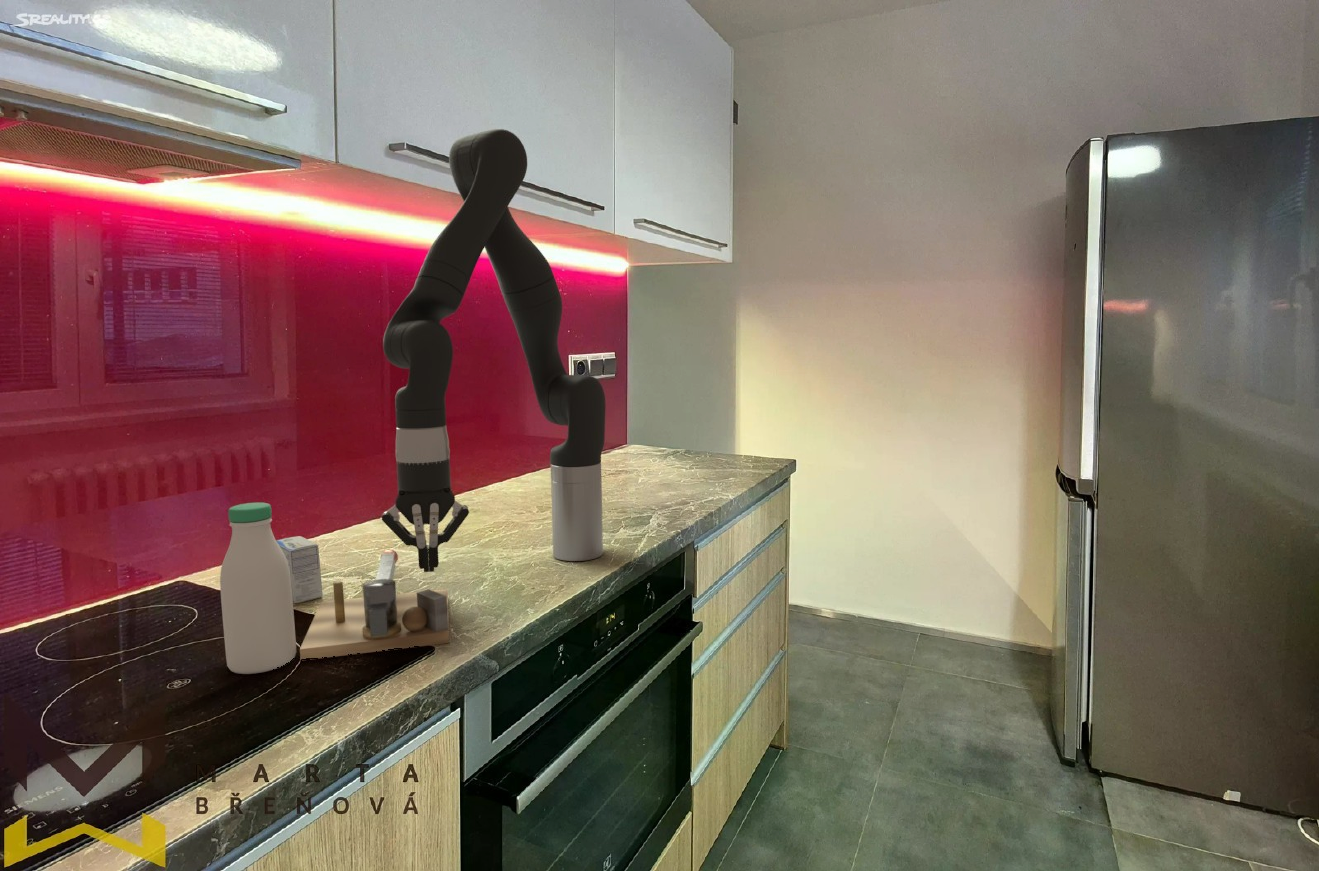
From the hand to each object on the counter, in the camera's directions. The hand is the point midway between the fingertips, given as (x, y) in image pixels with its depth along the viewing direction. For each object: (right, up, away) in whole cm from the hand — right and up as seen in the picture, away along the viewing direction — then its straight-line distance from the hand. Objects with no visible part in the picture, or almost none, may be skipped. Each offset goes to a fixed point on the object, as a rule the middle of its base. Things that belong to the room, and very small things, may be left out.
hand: (428, 570), depth 112 cm
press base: (-4, -6, -8) cm, 11 cm away
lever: (-4, -4, -6) cm, 8 cm away
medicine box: (-22, -5, +6) cm, 24 cm away
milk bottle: (-15, -8, -19) cm, 26 cm away
